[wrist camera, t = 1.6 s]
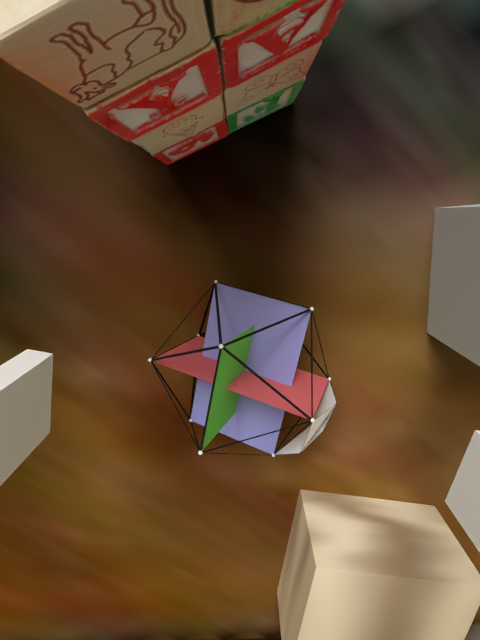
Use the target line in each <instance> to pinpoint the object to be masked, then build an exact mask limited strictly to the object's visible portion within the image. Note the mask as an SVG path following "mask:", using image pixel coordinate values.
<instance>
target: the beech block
mask: <svg viewBox="0 0 480 640" xmlns="http://www.w3.org/2000/svg"><path fill="white" fill-rule="evenodd" d="M277 596H278V607H279V618H280V629H281V640H464V639H465V637H466V635H467V632H468V630H469V628H470V626H471V623H472V621H473V619H474V617H475V614H476V612H477V610H478V608H479V605H480V574H479V572H478V571H477V569H476V568H475V566H474V565H473V563H472V562H471V560H470V559H469V557H468V556H467V554H466V553H465V551H464V550H463V548H462V547H461V545H460V544H459V542H458V541H457V539H456V538H455V536H454V535H453V533H452V532H451V530H450V528H449V527H448V525H447V524H446V522H445V521H444V519H443V518H442V516H441V515H440V513H439V512H438V510H437V509H436V507H435V506H432V505H423V504H415V503H407V502H399V501H391V500H383V499H374V498H366V497H358V496H350V495H342V494H334V493H325V492H317V491H309V490H301V489H300V492H299V496H298V501H297V505H296V510H295V514H294V519H293V523H292V528H291V532H290V536H289V541H288V545H287V550H286V554H285V559H284V563H283V567H282V572H281V576H280V581H279V585H278V590H277Z"/></svg>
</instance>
